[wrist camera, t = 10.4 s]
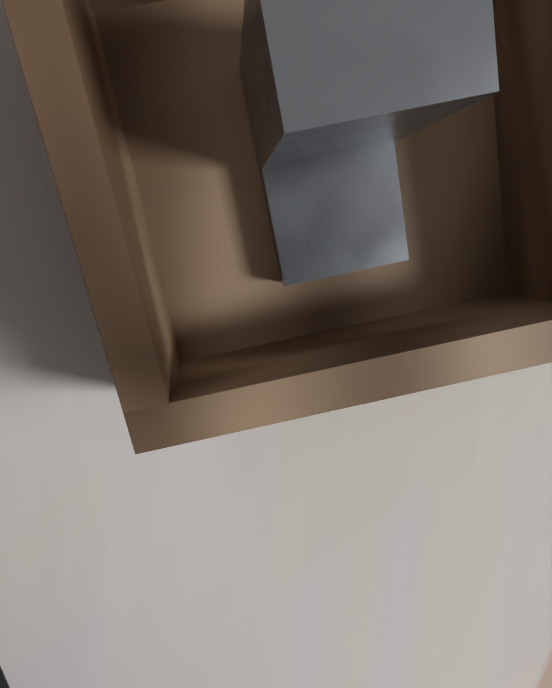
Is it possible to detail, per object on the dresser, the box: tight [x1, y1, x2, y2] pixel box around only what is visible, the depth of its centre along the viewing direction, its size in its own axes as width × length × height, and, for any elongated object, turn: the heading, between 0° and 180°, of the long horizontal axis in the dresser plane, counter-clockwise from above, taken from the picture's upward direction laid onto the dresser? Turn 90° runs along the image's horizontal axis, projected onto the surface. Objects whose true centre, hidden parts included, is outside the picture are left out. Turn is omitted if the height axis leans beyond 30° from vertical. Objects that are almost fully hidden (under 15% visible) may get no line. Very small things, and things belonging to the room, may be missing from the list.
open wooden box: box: [2, 0, 552, 454], centre depth 14 cm, size 14×13×5 cm
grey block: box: [239, 0, 499, 286], centre depth 12 cm, size 4×6×7 cm, turn 11°
